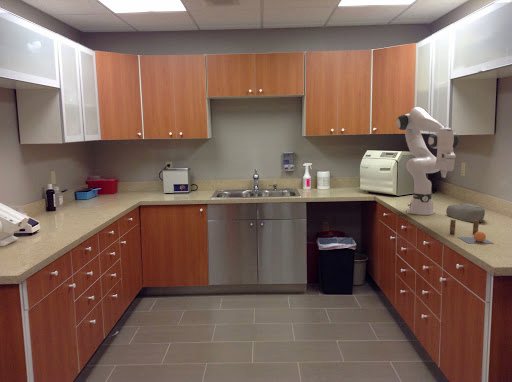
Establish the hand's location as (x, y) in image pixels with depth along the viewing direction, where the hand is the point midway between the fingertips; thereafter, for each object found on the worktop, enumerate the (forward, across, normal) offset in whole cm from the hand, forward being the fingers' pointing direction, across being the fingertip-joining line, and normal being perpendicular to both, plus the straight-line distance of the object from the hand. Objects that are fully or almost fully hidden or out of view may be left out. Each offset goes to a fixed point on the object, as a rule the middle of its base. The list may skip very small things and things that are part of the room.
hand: (443, 177), depth 268 cm
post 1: (+29, +26, -3) cm, 39 cm away
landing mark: (+29, +40, +3) cm, 49 cm away
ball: (+26, +43, +4) cm, 51 cm away
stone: (+30, -17, +24) cm, 42 cm away
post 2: (+29, +26, +9) cm, 40 cm away
